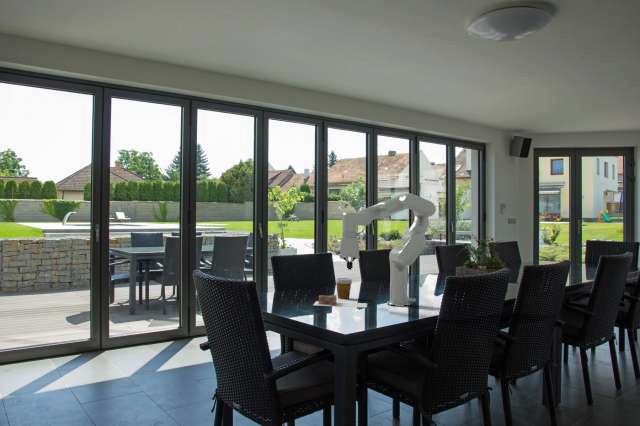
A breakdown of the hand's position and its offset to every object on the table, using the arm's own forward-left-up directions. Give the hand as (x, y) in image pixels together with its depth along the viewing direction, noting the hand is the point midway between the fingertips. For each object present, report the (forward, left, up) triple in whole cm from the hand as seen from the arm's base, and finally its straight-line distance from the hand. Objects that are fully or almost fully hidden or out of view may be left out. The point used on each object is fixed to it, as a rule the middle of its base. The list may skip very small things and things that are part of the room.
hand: (349, 269), depth 260 cm
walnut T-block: (+11, +1, -19) cm, 22 cm away
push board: (+4, +1, -20) cm, 20 cm away
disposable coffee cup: (+4, -19, -20) cm, 28 cm away
